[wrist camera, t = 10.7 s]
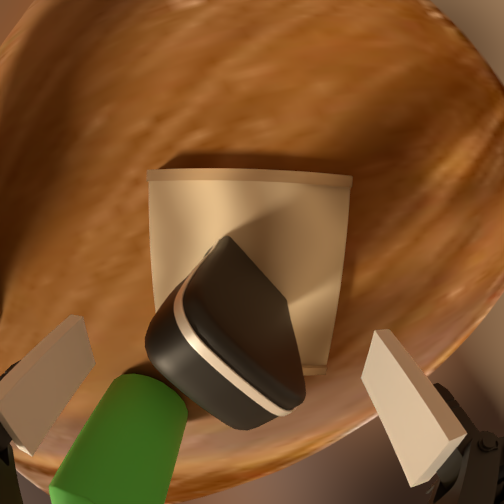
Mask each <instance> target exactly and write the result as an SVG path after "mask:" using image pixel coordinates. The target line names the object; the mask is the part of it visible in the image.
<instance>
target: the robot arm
mask: <svg viewBox="0 0 504 504" xmlns="http://www.w3.org/2000/svg"><path fill="white" fill-rule="evenodd" d="M95 364H96V363H95V360H94V357H93V353H92V350H91V346H90V343H89V339H88V335H87V331H86V327H85V323H84V319H83V316H77V315H70V316H69V317H67V318H66V319H65V320H64V321H63V322H62V323H61V324H60V325H58V326H57V327H56V328H55V329H54V330H53V331H52V332H51V333H50V334H48V335H47V336H46V337H45V338H44V339H43V340H42V341H41V342H40V343H39V344H38V345H37V346H35V347H34V348H33V349H32V350H31V351H30V352H29V353H28V354H27V355H26V356H25V357H24V358H23V359H22V360H20V361H18V362H16V363H15V364H13V365H11V366H10V367H9V368H8V369H7V370H6V371H5V374H4V373H3V374H2V375H1V376H0V504H23V501H22V497H21V493H20V489H19V484H18V479H17V474H16V468H15V462H14V455H13V449H12V446H11V445H10V444H9V443H10V442H11V440H13V441H14V443H15V444H16V445H17V447H18V448H19V449H20V450H22V451H24V452H25V453H27V454H29V455H31V456H32V457H33V455H34V453H35V452H36V450H37V449H38V447H39V445H40V444H41V442H42V441H43V439H44V438H45V436H46V434H47V433H48V431H49V430H50V428H51V427H52V425H53V424H54V422H55V421H56V419H57V418H58V416H59V415H60V413H61V412H62V410H63V409H64V407H65V406H66V405H67V403H68V402H69V400H70V399H71V397H72V396H73V395H74V393H75V392H76V390H77V389H78V388H79V386H80V385H81V383H82V382H83V381H84V379H85V378H86V376H87V375H88V374H89V372H90V371H91V370H92V368H93V367H94V365H95ZM361 379H362V381H363V383H364V385H365V387H366V389H367V392H368V394H369V396H370V398H371V400H372V402H373V404H374V406H375V408H376V410H377V413H378V415H379V417H380V419H381V421H382V423H383V425H384V427H385V430H386V432H387V434H388V436H389V438H390V441H391V443H392V445H393V447H394V450H395V452H396V454H397V457H398V459H399V461H400V463H401V466H402V468H403V470H404V472H405V475H406V477H407V480H408V482H409V485H410V487H414V486H416V485H419V484H422V483H424V482H427V481H429V480H430V479H431V477H432V476H433V475H434V474H435V473H436V472H437V474H438V476H439V478H438V479H437V480H436V481H435V482H434V483H433V484H432V486H431V487H430V488H429V489H428V490H427V492H426V493H427V494H428V493H429V492H430V491H431V490H432V489H433V491H432V494H431V496H430V499H429V502H428V504H504V437H500V438H498V437H497V436H496V435H495V434H493V433H491V432H488V431H481V432H479V431H478V430H477V428H476V427H475V425H474V424H473V423H472V421H471V420H470V418H469V417H468V416H467V414H466V413H465V412H464V410H463V409H462V408H461V407H459V404H458V402H457V401H456V400H454V397H453V396H452V394H451V393H450V392H449V391H448V390H447V389H446V388H445V387H443V386H442V385H440V384H439V383H436V384H432V383H431V382H430V380H429V379H428V378H427V376H426V375H425V374H424V372H423V371H422V370H421V369H420V367H419V366H418V365H417V363H416V362H415V361H414V359H413V358H412V357H411V356H410V354H409V353H408V352H407V351H406V349H405V348H404V347H403V346H402V344H401V343H400V342H399V341H398V339H397V338H396V337H395V336H394V334H393V333H392V332H391V331H390V329H383V330H374V334H373V338H372V342H371V345H370V349H369V353H368V356H367V360H366V363H365V366H364V370H363V373H362V376H361Z"/></svg>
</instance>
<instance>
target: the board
mask: <svg viewBox="0 0 504 504" xmlns="http://www.w3.org/2000/svg"><path fill="white" fill-rule="evenodd" d="M147 181H149V231H150V252H151V267H152V280H153V291H154V301H155V311H156V313H157V311H158V309H159V308H160V306H161V305H162V304H163V302H164V301H165V299H166V298H167V297H168V296H169V294H170V293H171V292H172V291H173V290H174V289H175V287H176V286H177V285H178V284H179V283H181V282H182V281H183V280H184V279H185V278H186V277H187V276H188V275H189V274H190V273H191V272H192V270H193V269H194V268H195V267H196V266H197V264H198V263H199V262H200V261H201V260H202V259H203V257H204V256H205V254H206V253H207V251H208V250H209V249H210V248H211V247H212V246H213V245H214V243H215V242H216V241H217V240H218V239H221V238H223V237H224V236H230V237H231V238H232V239H233V240H234V241H235V242H236V244H237V245H238V246H239V247H240V248H241V249H242V250H243V251H244V252H245V253H246V255H247V256H248V257H249V258H250V259H251V260H252V261H253V262H254V263H255V265H256V266H257V267H258V268H259V269H260V270H261V271H262V272H263V273H264V275H265V276H266V277H267V278H268V279H269V280H270V281H271V282H272V283H273V285H274V286H275V287H276V288H277V289H278V290H279V291H280V292H281V294H282V295H283V296H284V297H285V298H286V300H287V303H288V308H289V313H290V318H291V322H292V326H293V329H294V333H295V337H296V341H297V345H298V350H299V354H300V359H301V364H302V369H303V375H304V376H305V375H326V372H327V360H328V355H329V350H330V345H331V340H332V335H333V329H334V324H335V318H336V312H337V306H338V300H339V293H340V286H341V279H342V271H343V263H344V255H345V246H346V236H347V226H348V214H349V201H350V188H352V181H353V176H348V175H338V174H328V173H316V172H303V171H287V170H267V169H234V168H189V169H156V170H147Z"/></svg>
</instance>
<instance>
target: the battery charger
mask: <svg viewBox="0 0 504 504" xmlns="http://www.w3.org/2000/svg"><path fill="white" fill-rule="evenodd" d="M145 348H146V351H147V354H148V357H149V359H150V361H151V362H152V364H153V365H154V367H155V368H156V369H157V370H158V371H159V372H160V373H161V374H162V375H163V376H164V377H165V378H166V379H167V380H169V381H170V382H171V383H172V384H173V385H174V386H176V387H177V388H178V389H179V390H180V391H181V392H183V393H184V394H185V395H186V396H188V397H189V398H190V399H191V400H192V401H194V402H195V403H196V404H198V405H199V406H200V407H202V408H203V409H205V410H206V411H207V412H209V413H210V414H212V415H213V416H215V417H216V418H217V419H219V420H220V421H222V422H223V423H225V424H226V425H228V426H230V427H232V428H234V429H238V430H250V429H253V428H256V427H259V426H261V425H263V424H265V423H267V422H269V421H271V420H273V419H275V418H277V417H278V416H286V415H288V414H290V413H291V412H293V411H294V410H295V409H296V407H297V406H299V405H300V404H301V403H303V401H304V399H305V396H306V389H305V381H304V375H303V369H302V364H301V359H300V354H299V350H298V345H297V341H296V337H295V333H294V329H293V326H292V322H291V318H290V313H289V308H288V303H287V300H286V298H285V297H284V296H283V295H282V294H281V292H280V291H279V290H278V289H277V288H276V287H275V286H274V285H273V283H272V282H271V281H270V280H269V279H268V278H267V277H266V276H265V275H264V273H263V272H262V271H261V270H260V269H259V268H258V267H257V266H256V265H255V263H254V262H253V261H252V260H251V259H250V258H249V257H248V256H247V255H246V253H245V252H244V251H243V250H242V249H241V248H240V247H239V246H238V245H237V244H236V242H235V241H234V240H233V239H232V238H231V237H230V236H224V237H223V238H221V239H218V240H217V241H216V242H215V243H214V245H213V246H212V247H211V248H210V249H209V250H208V251H207V253H206V254H205V256H204V257H203V259H202V260H201V261H200V262H199V263H198V264H197V266H196V267H195V268H194V269H193V270H192V272H191V273H190V274H189V275H188V276H187V277H186V278H185V279H184V280H183V281H182V282H181V283H179V284H178V285H177V286H176V287H175V289H174V290H173V291H172V292H171V293H170V294H169V296H168V297H167V298H166V299H165V301H164V302H163V304H162V305H161V306H160V308H159V309H158V311H157V313H156V314H155V316H154V317H153V319H152V321H151V322H150V325H149V327H148V330H147V333H146V336H145Z"/></svg>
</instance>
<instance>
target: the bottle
mask: <svg viewBox="0 0 504 504" xmlns="http://www.w3.org/2000/svg"><path fill="white" fill-rule="evenodd" d="M187 417H188V410H187V408H186V405H185V403H184V401H183V400H182V399H181V398H180V396H179V395H178V394H177V393H176V392H175V391H174V390H172V389H171V388H170V387H168V386H167V385H165V384H164V383H162V382H161V381H158V380H156V379H154V378H151V377H149V376H144V375H139V374H134V373H133V374H124V375H121V376H119V377H118V378H116V379H114V381H113V382H112V384H111V385H110V387H109V388H108V390H107V391H106V393H105V394H104V396H103V397H102V399H101V400H100V402H99V403H98V405H97V407H96V408H95V410H94V411H93V413H92V414H91V416H90V417H89V419H88V421H87V422H86V424H85V425H84V427H83V429H82V430H81V432H80V434H79V435H78V437H77V438H76V440H75V442H74V443H73V445H72V447H71V448H70V450H69V452H68V453H67V455H66V457H65V459H64V460H63V462H62V464H61V465H60V467H59V469H58V471H57V472H56V474H55V476H54V478H53V479H52V481H51V483H50V485H49V493H50V498H51V502H52V504H164V502H165V498H166V495H167V491H168V488H169V485H170V481H171V478H172V474H173V471H174V467H175V463H176V459H177V456H178V452H179V448H180V444H181V441H182V437H183V433H184V430H185V426H186V422H187Z"/></svg>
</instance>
